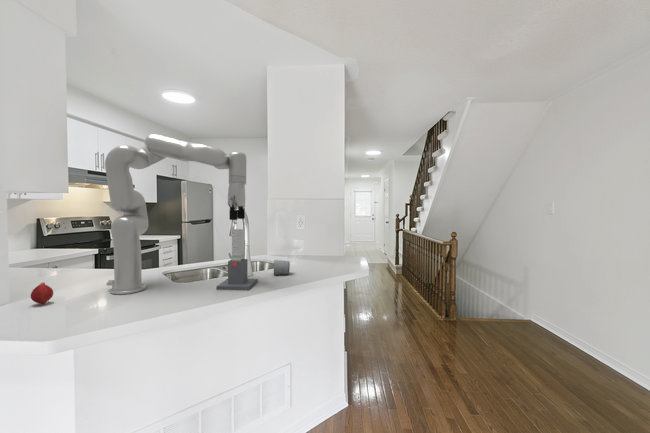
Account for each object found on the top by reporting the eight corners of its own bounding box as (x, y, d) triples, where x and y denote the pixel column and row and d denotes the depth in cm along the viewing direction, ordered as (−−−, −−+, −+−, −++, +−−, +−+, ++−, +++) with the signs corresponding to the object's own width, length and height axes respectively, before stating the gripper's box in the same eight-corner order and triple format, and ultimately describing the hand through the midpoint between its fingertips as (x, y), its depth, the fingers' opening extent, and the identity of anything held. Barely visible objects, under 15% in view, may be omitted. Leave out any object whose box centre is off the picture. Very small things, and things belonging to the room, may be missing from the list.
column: (231, 270, 131) (231, 229, 130) (235, 268, 135) (234, 229, 134) (240, 270, 131) (240, 230, 130) (244, 268, 135) (244, 229, 134)
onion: (34, 308, 103) (33, 285, 102) (28, 305, 106) (28, 282, 105) (55, 303, 107) (55, 281, 107) (50, 300, 111) (49, 279, 110)
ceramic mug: (289, 275, 152) (290, 260, 152) (273, 276, 151) (273, 261, 150) (288, 271, 163) (288, 257, 163) (272, 272, 161) (273, 258, 161)
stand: (216, 289, 127) (216, 262, 126) (228, 281, 141) (228, 257, 140) (248, 290, 126) (248, 263, 125) (257, 281, 140) (257, 257, 139)
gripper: (236, 182, 140) (235, 218, 141) (221, 179, 123) (221, 220, 124) (251, 182, 140) (251, 218, 140) (239, 179, 123) (238, 220, 123)
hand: (237, 219), depth 132 cm, fingers open, 9 cm apart
